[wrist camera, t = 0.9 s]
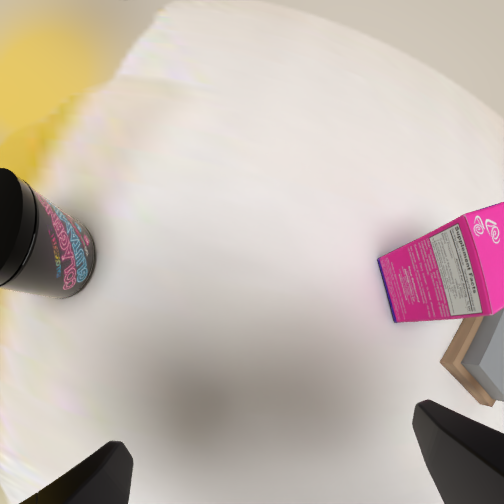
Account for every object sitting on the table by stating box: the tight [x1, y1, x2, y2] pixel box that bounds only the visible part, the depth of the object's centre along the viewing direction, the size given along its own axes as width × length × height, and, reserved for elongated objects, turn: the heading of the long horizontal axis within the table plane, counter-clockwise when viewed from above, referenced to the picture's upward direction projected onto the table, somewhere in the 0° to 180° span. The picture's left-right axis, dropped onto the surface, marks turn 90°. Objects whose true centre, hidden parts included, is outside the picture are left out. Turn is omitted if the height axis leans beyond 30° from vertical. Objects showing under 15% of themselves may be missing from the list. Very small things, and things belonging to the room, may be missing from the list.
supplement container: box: [0, 168, 94, 298], centre depth 17 cm, size 7×7×10 cm
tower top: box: [461, 308, 504, 402], centre depth 20 cm, size 8×8×2 cm
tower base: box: [440, 316, 496, 407], centre depth 22 cm, size 9×9×2 cm
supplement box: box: [378, 202, 504, 323], centre depth 18 cm, size 6×6×12 cm
